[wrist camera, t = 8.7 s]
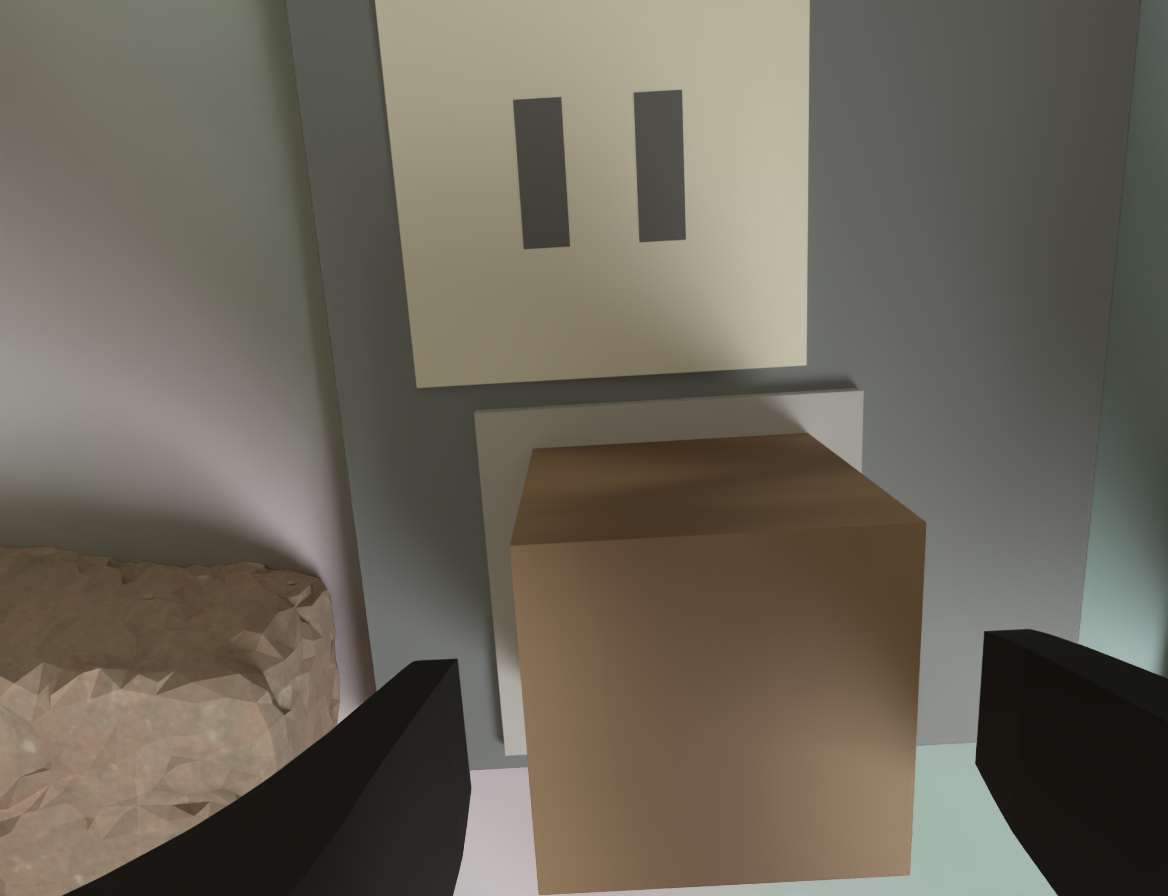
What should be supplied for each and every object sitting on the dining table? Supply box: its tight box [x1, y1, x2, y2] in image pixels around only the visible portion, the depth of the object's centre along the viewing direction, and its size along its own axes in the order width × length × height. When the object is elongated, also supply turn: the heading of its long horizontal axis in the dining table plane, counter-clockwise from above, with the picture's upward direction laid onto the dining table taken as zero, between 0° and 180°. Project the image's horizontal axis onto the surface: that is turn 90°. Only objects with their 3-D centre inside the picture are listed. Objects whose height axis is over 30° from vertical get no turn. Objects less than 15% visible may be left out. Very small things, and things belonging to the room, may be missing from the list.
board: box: [285, 0, 1141, 770], centre depth 14 cm, size 14×24×1 cm, turn 3°
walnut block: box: [510, 433, 927, 895], centre depth 12 cm, size 5×5×5 cm
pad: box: [474, 388, 864, 756], centre depth 15 cm, size 7×7×1 cm
